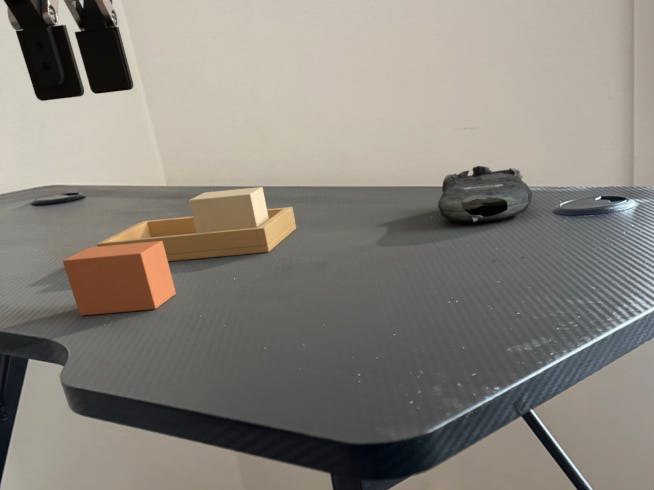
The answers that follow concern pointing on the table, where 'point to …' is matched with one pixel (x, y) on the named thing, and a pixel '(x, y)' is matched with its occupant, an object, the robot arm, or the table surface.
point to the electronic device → (484, 195)
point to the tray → (208, 236)
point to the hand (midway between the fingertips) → (89, 94)
